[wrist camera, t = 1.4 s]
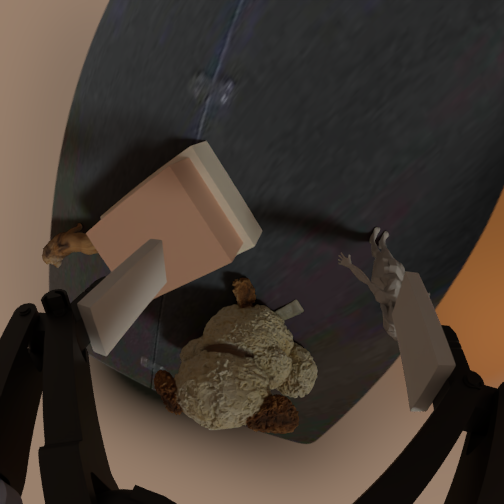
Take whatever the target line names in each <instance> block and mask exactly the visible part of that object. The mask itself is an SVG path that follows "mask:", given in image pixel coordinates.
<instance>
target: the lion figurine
mask: <svg viewBox="0 0 504 504" xmlns="http://www.w3.org/2000/svg"><path fill="white" fill-rule="evenodd" d="M81 230H82V225H81V224H80V223H78V225H77V227H74V228H72V229H70V230H68V232H63V233H59V234H58V235H56V236H54V238H53V239H51V241H49V243H48V244H47V245H46V246H45V247H44V248H43V255H42V257H43V261H44V262H45V263H46V264H50V263H51V264H53V265H55V267H57V268H58V267H59V266H60V265H61V263H62V262H61V261H62V260H63V258H64V257H65V256H67V255H69V254H70V253H71V252H80V251H81V252H83V253H85V254H88V255H91V254H95V253H98V251H97V250H96V248H95V247H94V245H93V244H92V242H91V241H90V239H89V238H88V236H87V235H86V234H85V233H76V232H78V231H81Z"/></svg>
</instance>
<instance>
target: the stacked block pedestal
mask: <svg viewBox="0 0 504 504" xmlns="http://www.w3.org/2000/svg"><path fill="white" fill-rule="evenodd" d="M100 218H101V220H100V221H99V222H98V223H97V224H96V225H94V226H93V227H92V228H91V229H90V230H89V231H88V232H87V233H86V235H87V236H88V238H89V239H90V241H91V242H92V244H93V245H94V247H95V248H96V250H97V251H98V253H99V254H100V256H101V257H102V259H103V260H104V261H105V263H106V264H107V266H108V267H109V269H110V270H111V271H113V270H114V269H116V268H117V267H118V266H119V265H120V264H121V263H122V262H124V261H125V260H126V259H127V258H128V257H129V256H131V255H132V254H133V253H134V252H135V251H136V250H138V249H139V248H140V247H141V246H142V245H143V244H145V243H146V242H147V241H148V240H149V239H157V240H162V244H163V254H164V263H165V271H166V280H167V283H166V284H165V285H164V286H163V287H162V289H161V290H160V291H159V292H158V293H157V295H156V296H155V297H154V298H153V299H155V298H157V297H159V296H161V295H163V294H165V293H167V292H169V291H172V290H174V289H176V288H178V287H180V286H182V285H184V284H187V283H189V282H191V281H193V280H195V279H197V278H199V277H201V276H204V275H206V274H208V273H210V272H212V271H214V270H216V269H219V268H221V267H223V266H225V265H227V264H229V263H231V262H232V261H233V260H234V258H235V256H236V255H238V254H240V253H242V252H244V251H246V250H248V249H250V248H252V247H254V246H255V245H256V243H257V241H258V239H259V237H260V235H261V233H262V229H261V227H260V226H259V224H258V222H257V221H256V219H255V218H254V216H253V214H252V213H251V211H250V209H249V208H248V206H247V205H246V203H245V201H244V200H243V198H242V196H241V195H240V193H239V192H238V190H237V188H236V187H235V185H234V184H233V182H232V180H231V179H230V177H229V176H228V174H227V172H226V171H225V169H224V168H223V166H222V164H221V163H220V161H219V160H218V158H217V156H216V155H215V153H214V152H213V150H212V149H211V147H210V145H209V144H208V142H207V141H204V142H201V143H198V144H195V145H192V146H190V147H188V148H187V149H186V150H184V151H183V152H181V153H180V154H179V155H177V156H176V157H175V158H173V159H172V160H170V161H169V162H168V163H166V164H165V165H164V166H162V167H161V168H160V169H158V170H157V171H156V172H154V173H153V174H152V175H150V176H149V177H148V178H147V179H145V180H144V181H143V182H142V183H140V184H139V185H138V186H136V187H135V188H134V189H133V190H131V191H130V192H129V193H128V194H127V195H125V196H124V197H123V198H122V199H121V200H119V201H118V202H117V203H116V204H115V205H113V206H112V207H111V208H110V209H109V210H107V211H106V212H105V213H104V214H103V215H102V216H101V217H100Z"/></svg>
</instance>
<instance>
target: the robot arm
mask: <svg viewBox="0 0 504 504" xmlns="http://www.w3.org/2000/svg"><path fill="white" fill-rule="evenodd" d="M166 283H167V280H166V271H165V263H164V254H163V244H162V240H157V239H149V240H148V241H147V242H146V243H145V244H143V245H142V246H141V247H140V248H139V249H138V250H136V251H135V252H134V253H133V254H132V255H131V256H129V257H128V258H127V259H126V260H125V261H124V262H122V263H121V264H120V265H119V266H118V267H117V268H116V269H114V270H113V271H112V272H111V273H110V274H109V275H108V276H107V277H105V276H104V277H102V278H100V279H98V280H96V281H95V282H94V283H92V284H91V285H90V287H88V288H87V289H86V290H85V292H82V293H81V294H80V295H79V296H78V297H77V298H76V299H75V300H74V301H73V302H72V303H70V302H69V298H68V295H67V292H66V291H65V290H62V289H56V290H52V291H49V292H48V293H46V294H45V295H44V296H43V297H42V299H41V301H42V304H43V307H44V310H45V312H46V313H38V311H37V308H36V306H35V305H34V304H31V303H28V304H23V305H21V306H20V307H19V308H17V309H16V310H15V311H14V313H13V315H12V317H11V319H10V321H9V323H8V325H7V327H6V328H5V330H4V332H3V335H2V336H1V338H0V504H23V503H22V499H21V495H22V491H23V488H24V484H25V479H26V473H27V466H28V459H29V452H30V446H31V441H32V435H33V430H34V425H35V420H36V416H37V411H38V407H39V403H40V398H41V394H42V391H43V422H44V437H45V445H44V446H43V447H40V448H39V452H38V454H39V455H38V456H39V466H40V474H41V480H42V488H43V493H44V499H45V504H176V503H175V502H173V501H171V500H170V499H168V498H167V497H165V496H163V495H160V494H157V493H155V492H152V491H149V490H146V489H144V488H142V487H139V486H137V485H135V486H134V488H133V490H126V489H119V488H118V486H117V484H116V482H115V480H114V478H113V476H112V474H111V471H110V467H109V464H108V460H107V456H106V452H105V448H104V445H103V440H102V435H101V431H100V426H99V422H98V416H97V411H96V405H95V399H94V393H93V387H92V380H91V374H90V365H89V357H88V351H87V349H86V347H87V346H88V344H89V343H91V345H92V348H93V350H94V352H96V353H99V354H102V355H104V356H107V355H108V354H109V353H110V351H111V350H112V349H113V348H114V346H115V345H116V344H117V342H118V341H119V340H120V339H121V337H122V336H123V335H124V334H125V332H126V331H127V330H128V329H129V327H130V326H131V325H132V324H133V323H134V321H135V320H136V319H137V318H138V316H139V315H140V314H141V313H142V311H143V310H144V309H145V308H146V307H147V305H148V304H149V303H150V302H151V301H152V299H153V298H154V297H155V296H156V295H157V293H158V292H159V291H160V290H161V289H162V287H163V286H164V285H165V284H166ZM392 318H393V322H394V326H395V330H396V335H397V340H398V344H399V349H400V354H401V359H402V364H403V370H404V375H405V381H406V386H407V393H408V398H409V406H410V411H427V410H428V408H429V406H430V405H431V404H432V402H433V407H434V411H433V413H432V414H431V415H430V417H429V418H428V419H427V421H426V422H425V423H424V424H423V426H422V427H421V429H420V430H419V431H418V433H417V434H416V435H415V436H414V438H413V439H412V441H411V442H410V443H409V444H408V445H407V446H406V448H405V449H404V450H403V451H402V453H401V454H400V455H399V456H398V457H397V458H396V460H395V461H394V462H393V463H392V464H391V465H390V466H389V467H388V468H387V470H386V471H385V472H384V473H383V474H382V475H381V476H380V477H379V478H378V479H377V480H376V481H375V482H374V483H373V484H372V485H371V486H370V487H369V488H368V489H367V490H366V491H365V492H364V493H363V494H362V495H361V496H360V497H359V498H358V499H357V500H356V501H355V502H354V503H353V504H413V503H414V502H415V500H416V499H417V498H418V496H419V495H420V494H421V493H422V491H423V490H424V488H425V487H426V486H427V485H428V483H429V482H430V481H431V479H432V478H433V476H434V475H435V474H436V472H437V471H438V469H439V468H440V466H441V465H442V463H443V462H444V460H445V458H446V457H447V456H448V454H449V452H450V451H451V449H452V448H453V446H454V444H455V443H456V441H457V439H458V438H459V436H460V434H461V433H462V431H466V432H467V435H466V439H465V442H464V446H463V450H462V453H461V457H460V460H459V463H458V466H457V469H456V473H455V475H454V478H453V482H452V484H451V487H450V490H449V492H448V495H447V497H446V500H445V502H444V504H504V382H503V383H502V384H501V385H500V386H499V387H498V389H497V388H493V387H490V386H486V385H484V382H483V380H482V378H481V377H480V376H479V375H478V374H477V373H476V372H473V371H471V370H470V368H469V366H468V363H467V360H466V358H465V355H464V352H463V350H462V349H461V345H460V343H459V340H458V338H457V335H456V333H455V332H454V331H453V330H452V329H451V327H450V326H444V325H441V324H440V321H439V319H438V317H437V314H436V312H435V309H434V307H433V305H432V302H431V300H430V298H429V295H428V293H427V291H426V289H425V287H424V284H423V282H422V280H421V278H420V276H419V274H418V273H413V272H406V271H405V274H404V277H403V281H402V284H401V287H400V291H399V294H398V297H397V300H396V303H395V306H394V309H393V312H392Z"/></svg>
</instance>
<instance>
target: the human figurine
mask: <svg viewBox="0 0 504 504" xmlns="http://www.w3.org/2000/svg"><path fill="white" fill-rule="evenodd" d="M379 231H380V228H379V229H378V228H377V227H376V228H375V229H374V231H373V234H372V235H371V236H370V240H369V243H370V244H371V243H372V246H371V248H372V256H373V257H375V258H376V259H375V261H374V266H373V271H372V279H371V281H372V282H370V280H369V279H368V278H367V276H366V275H365V274H364V273H363V272H362V271H361V270H360V269H359V268H357V267H356V266H354V265H352V264H351V259H350V255H348V258H346V257H345V256H344V255H343V253H342V252H341V255H342V256H343V258H342V257H341V256H340V255H338V256H339V257H340V258H341V259H342V261H341V260H339V259H338V261H341V263H338V264H342V265H344V266H345V267H349V268H350V269H351V271H352V272H353V273H354V275H355V276H356V277H357V278H358V279H359V280H360V281H362V282H364V283H366V284H368V285H369V288H370V290H371V291H372V292H373V293H374V295H375V298H376V301H378V302H379V303H381V305H380V307H381V309H382V312H383V327H384V328H385V330H386V331H387V333H388V334H389V335H390V336H391V337H392V338H393V339H394V340H395V341H396V340H397V335H396V330H395V326H394V322H393V318H392V312H393V309H394V306H395V303H396V300H397V297H398V294H399V291H400V287H401V284H402V281H403V277H404V272H405V269H404V267H403V265H402V264H401V263H399V262H398V261H396V260H395V259H394V258H393V256H392V255H391V253H390V252H389V250H388V249H387V248H386V246H385V240H386V238H387V237H388V236H389V234H388V232H386V231H385V232H384V233H383V235H382V237H381V239H380V241H379V248H381V252H380V251H379V250H378V248H377V245H376V243H375V239H376V237H377V234H378V233H379ZM428 295H429V296H430V293H428Z"/></svg>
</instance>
